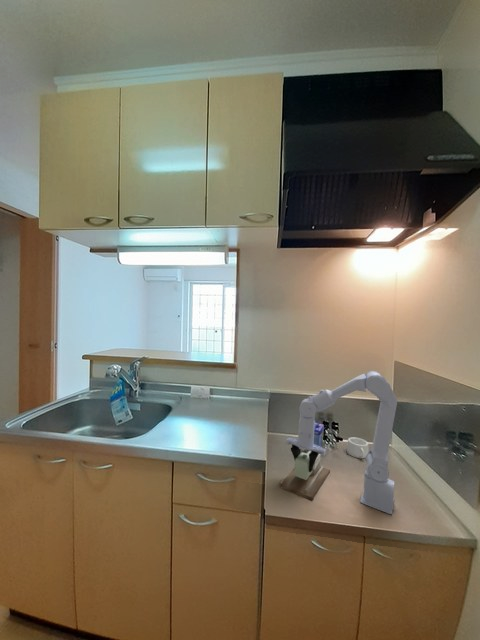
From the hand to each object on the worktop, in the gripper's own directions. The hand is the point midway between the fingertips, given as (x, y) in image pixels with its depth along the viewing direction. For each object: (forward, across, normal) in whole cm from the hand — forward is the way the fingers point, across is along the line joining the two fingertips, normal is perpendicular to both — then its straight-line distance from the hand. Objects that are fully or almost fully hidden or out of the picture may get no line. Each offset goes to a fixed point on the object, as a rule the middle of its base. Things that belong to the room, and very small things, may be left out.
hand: (303, 468), depth 103 cm
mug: (+6, +12, +38) cm, 41 cm away
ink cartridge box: (+6, -4, +28) cm, 28 cm away
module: (+2, 0, 0) cm, 2 cm away
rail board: (+6, 0, +4) cm, 7 cm away
